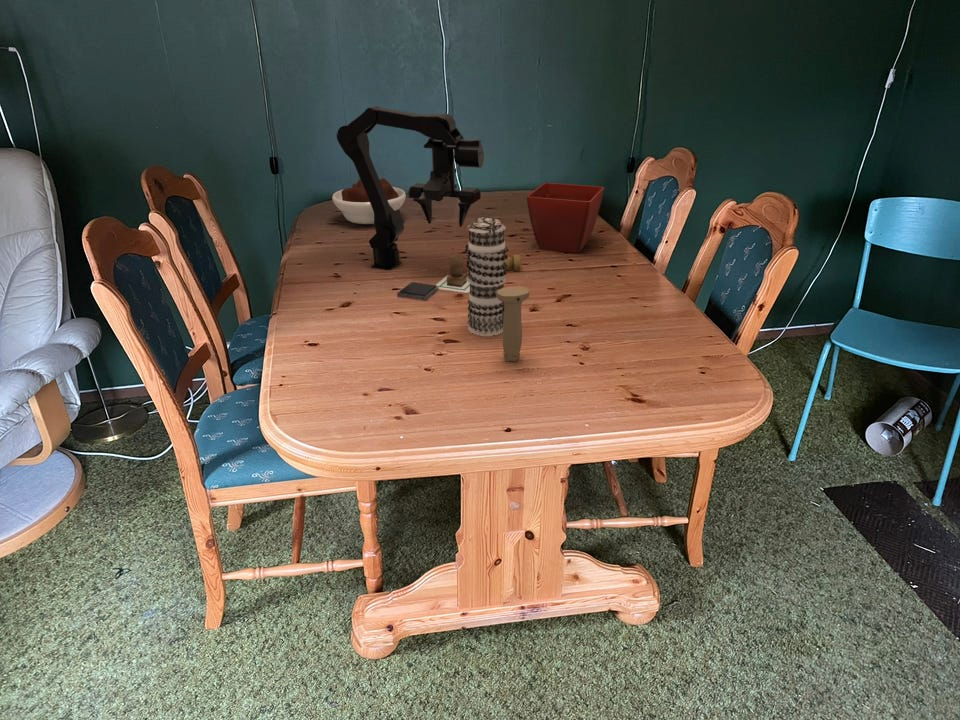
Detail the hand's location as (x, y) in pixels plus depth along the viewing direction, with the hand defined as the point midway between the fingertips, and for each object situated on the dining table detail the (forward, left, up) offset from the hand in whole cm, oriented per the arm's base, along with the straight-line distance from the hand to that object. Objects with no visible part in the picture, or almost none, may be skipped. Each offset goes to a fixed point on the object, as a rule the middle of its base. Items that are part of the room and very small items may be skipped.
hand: (445, 224), depth 174 cm
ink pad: (0, -18, -13) cm, 22 cm away
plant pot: (+25, +33, -13) cm, 43 cm away
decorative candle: (+24, -32, -13) cm, 42 cm away
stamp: (+7, -9, -13) cm, 17 cm away
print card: (+7, -9, -13) cm, 17 cm away
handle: (+34, -44, -13) cm, 57 cm away
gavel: (+11, +13, -14) cm, 22 cm away
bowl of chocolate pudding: (-45, +37, -13) cm, 60 cm away
